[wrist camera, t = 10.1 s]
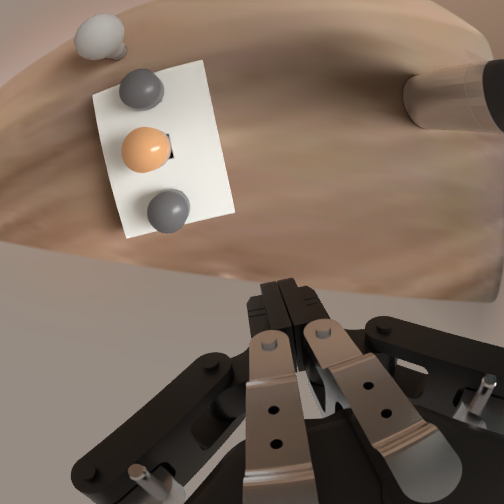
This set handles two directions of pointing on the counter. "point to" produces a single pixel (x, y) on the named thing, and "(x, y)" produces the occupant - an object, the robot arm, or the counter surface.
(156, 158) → the middle terracotta knob
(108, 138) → the mounting board
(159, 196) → the charcoal knob
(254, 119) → the counter surface
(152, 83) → the charcoal knob
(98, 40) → the lightbulb
